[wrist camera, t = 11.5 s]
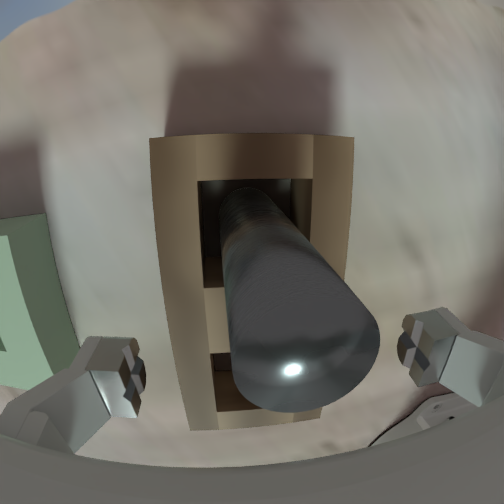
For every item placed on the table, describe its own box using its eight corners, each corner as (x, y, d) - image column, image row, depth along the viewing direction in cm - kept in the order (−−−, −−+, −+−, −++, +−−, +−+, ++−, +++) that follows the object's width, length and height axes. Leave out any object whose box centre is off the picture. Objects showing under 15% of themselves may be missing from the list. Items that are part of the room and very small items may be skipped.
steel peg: (275, 186, 19) (393, 288, 6) (274, 241, 21) (364, 399, 8) (217, 188, 19) (228, 302, 6) (219, 243, 20) (235, 419, 7)
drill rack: (324, 136, 19) (354, 137, 14) (305, 381, 26) (319, 418, 21) (163, 138, 17) (149, 138, 13) (191, 390, 25) (190, 430, 20)
